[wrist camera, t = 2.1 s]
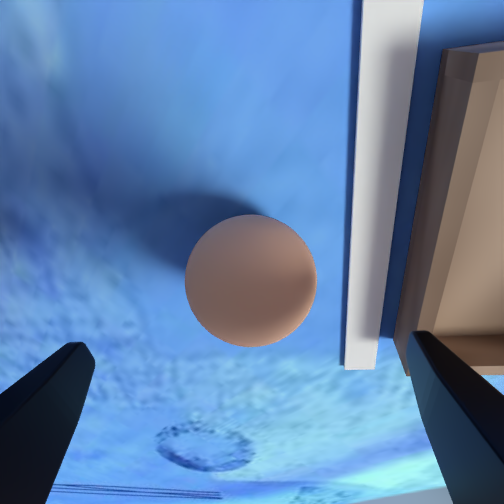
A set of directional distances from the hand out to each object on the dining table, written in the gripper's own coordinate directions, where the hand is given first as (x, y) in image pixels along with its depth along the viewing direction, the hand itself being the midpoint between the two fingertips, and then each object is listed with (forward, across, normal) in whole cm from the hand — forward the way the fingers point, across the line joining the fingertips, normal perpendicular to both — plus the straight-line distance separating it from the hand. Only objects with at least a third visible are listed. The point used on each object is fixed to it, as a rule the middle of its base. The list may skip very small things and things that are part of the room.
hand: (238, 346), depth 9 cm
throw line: (+5, -5, 0) cm, 7 cm away
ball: (+5, 0, 0) cm, 5 cm away
